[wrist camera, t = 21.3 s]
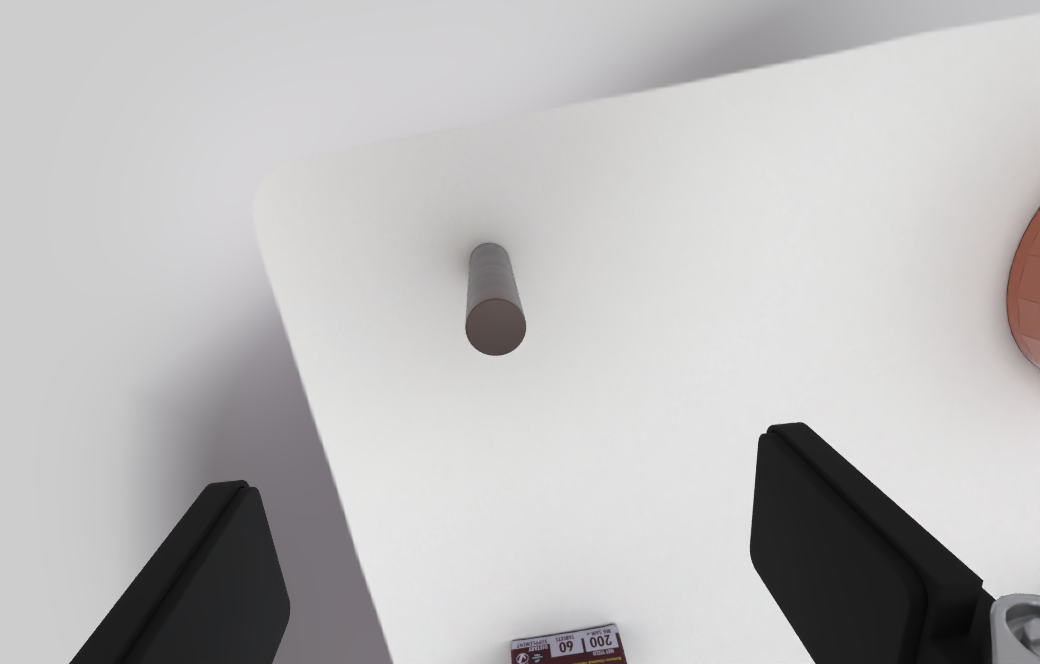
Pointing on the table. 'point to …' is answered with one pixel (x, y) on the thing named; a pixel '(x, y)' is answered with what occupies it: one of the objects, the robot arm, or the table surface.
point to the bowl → (1026, 293)
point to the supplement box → (571, 648)
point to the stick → (493, 302)
